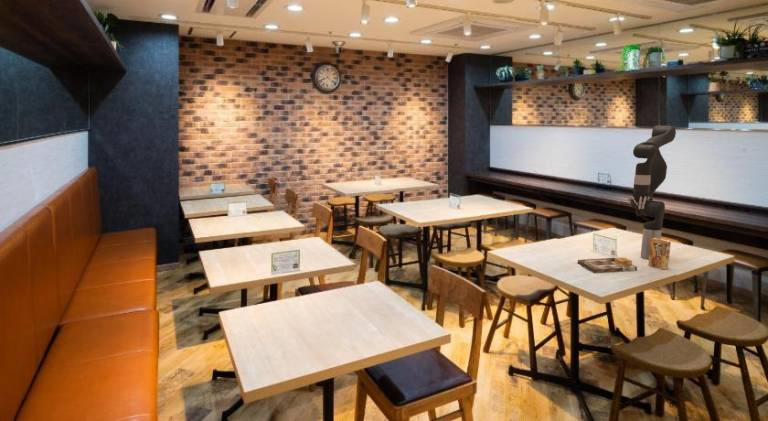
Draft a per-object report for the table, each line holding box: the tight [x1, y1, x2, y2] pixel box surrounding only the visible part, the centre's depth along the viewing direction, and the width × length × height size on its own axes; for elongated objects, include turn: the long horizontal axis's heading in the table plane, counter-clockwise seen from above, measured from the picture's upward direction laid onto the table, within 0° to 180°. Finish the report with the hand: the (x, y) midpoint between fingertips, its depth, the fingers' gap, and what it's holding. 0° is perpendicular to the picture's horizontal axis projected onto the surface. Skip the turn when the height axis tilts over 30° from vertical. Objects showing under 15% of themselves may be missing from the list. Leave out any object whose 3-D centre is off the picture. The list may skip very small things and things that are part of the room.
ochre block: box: [614, 256, 633, 267], centre depth 260 cm, size 6×6×3 cm
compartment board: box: [577, 257, 638, 274], centre depth 263 cm, size 24×17×4 cm
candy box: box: [647, 238, 672, 270], centre depth 260 cm, size 9×4×15 cm, turn 34°
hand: (638, 215), depth 254 cm, fingers closed
